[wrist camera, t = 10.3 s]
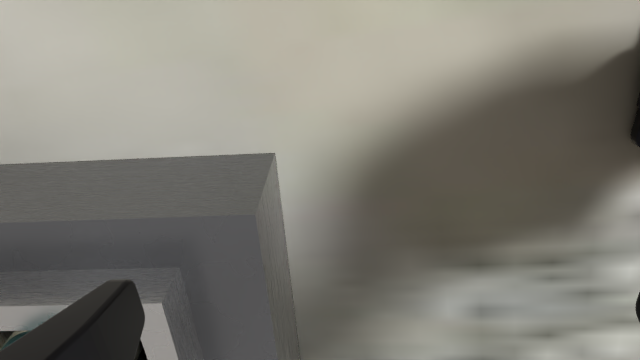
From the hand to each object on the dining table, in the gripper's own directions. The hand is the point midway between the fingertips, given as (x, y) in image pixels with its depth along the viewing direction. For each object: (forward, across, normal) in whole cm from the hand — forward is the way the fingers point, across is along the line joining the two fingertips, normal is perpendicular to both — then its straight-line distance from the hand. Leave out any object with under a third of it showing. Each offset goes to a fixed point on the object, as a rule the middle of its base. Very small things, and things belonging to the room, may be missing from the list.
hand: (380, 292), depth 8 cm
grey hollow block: (+13, +13, +10) cm, 21 cm away
